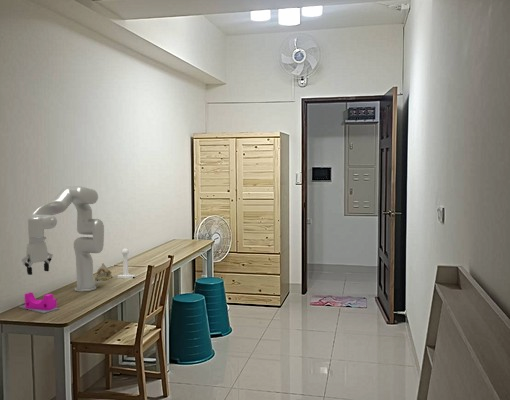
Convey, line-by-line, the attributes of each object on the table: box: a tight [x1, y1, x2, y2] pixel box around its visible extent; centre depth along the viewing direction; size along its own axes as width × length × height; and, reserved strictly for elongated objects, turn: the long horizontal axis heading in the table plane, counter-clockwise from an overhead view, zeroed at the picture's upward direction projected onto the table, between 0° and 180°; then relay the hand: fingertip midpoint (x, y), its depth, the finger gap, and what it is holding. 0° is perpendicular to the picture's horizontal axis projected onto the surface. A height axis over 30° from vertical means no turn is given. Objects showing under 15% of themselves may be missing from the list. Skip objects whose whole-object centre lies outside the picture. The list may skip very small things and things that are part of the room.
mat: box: [18, 304, 60, 314], centre depth 287 cm, size 9×22×1 cm, turn 55°
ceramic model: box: [94, 262, 114, 281], centre depth 359 cm, size 14×11×10 cm
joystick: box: [116, 247, 136, 278], centre depth 358 cm, size 11×8×20 cm
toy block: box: [24, 292, 58, 310], centre depth 286 cm, size 15×6×8 cm, turn 70°
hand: (38, 272), depth 287 cm, fingers open, 9 cm apart
